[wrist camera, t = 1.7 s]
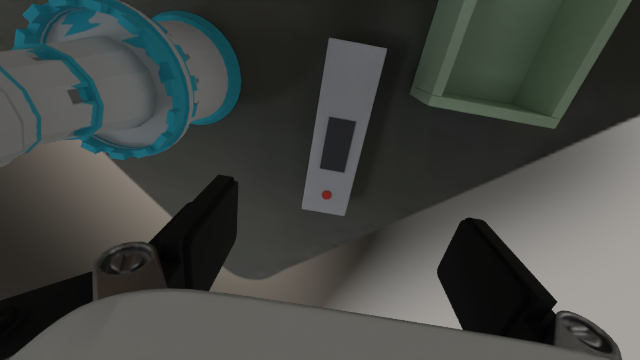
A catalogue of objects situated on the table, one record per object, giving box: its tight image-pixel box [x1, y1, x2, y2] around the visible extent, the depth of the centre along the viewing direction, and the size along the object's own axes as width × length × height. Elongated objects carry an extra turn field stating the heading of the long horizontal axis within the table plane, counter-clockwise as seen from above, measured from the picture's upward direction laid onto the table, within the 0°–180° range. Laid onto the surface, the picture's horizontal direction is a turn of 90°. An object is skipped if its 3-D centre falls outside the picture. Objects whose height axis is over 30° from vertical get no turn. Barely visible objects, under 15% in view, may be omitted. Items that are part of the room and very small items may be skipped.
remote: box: [302, 38, 387, 216], centre depth 25 cm, size 16×5×3 cm, turn 170°
